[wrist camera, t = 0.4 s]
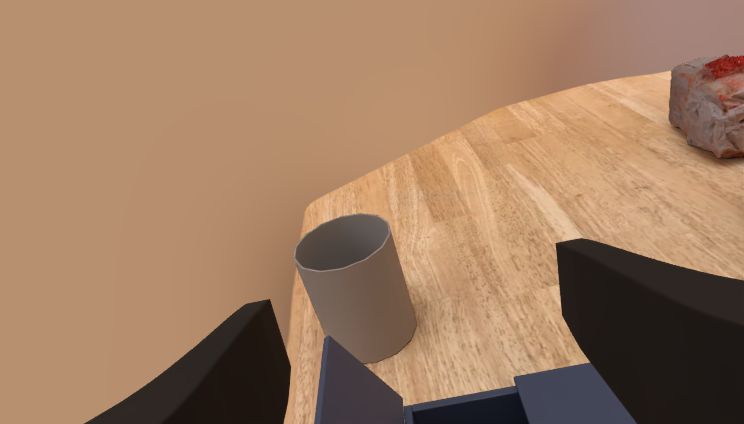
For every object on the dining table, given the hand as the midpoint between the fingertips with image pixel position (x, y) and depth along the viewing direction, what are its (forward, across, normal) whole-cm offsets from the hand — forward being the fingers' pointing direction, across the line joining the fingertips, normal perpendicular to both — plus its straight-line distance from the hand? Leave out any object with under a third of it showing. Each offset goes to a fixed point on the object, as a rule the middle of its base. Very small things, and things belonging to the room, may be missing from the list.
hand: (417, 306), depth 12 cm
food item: (+46, -39, +13) cm, 62 cm away
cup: (+28, +4, +18) cm, 34 cm away
